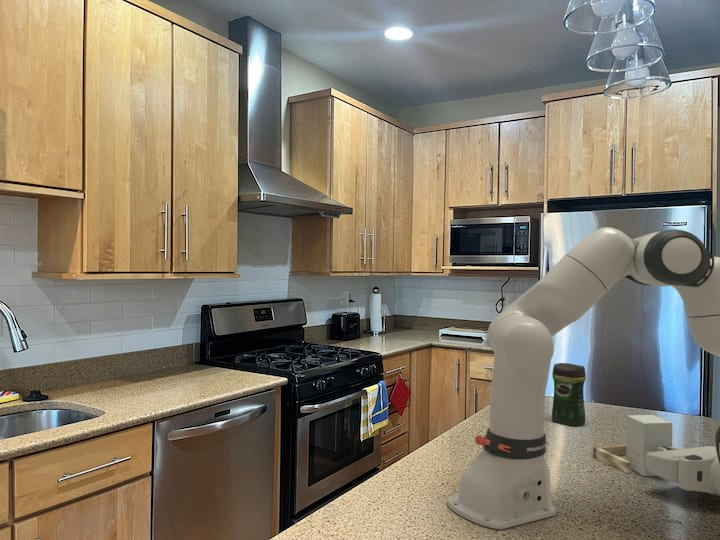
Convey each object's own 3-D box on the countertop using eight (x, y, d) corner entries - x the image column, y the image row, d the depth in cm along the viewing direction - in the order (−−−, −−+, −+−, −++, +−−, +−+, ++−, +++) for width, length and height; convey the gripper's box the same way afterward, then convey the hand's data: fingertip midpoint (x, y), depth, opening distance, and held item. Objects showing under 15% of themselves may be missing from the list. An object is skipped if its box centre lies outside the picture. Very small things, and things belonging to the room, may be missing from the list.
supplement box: (672, 476, 126) (674, 422, 126) (642, 476, 125) (644, 423, 125) (653, 464, 133) (654, 414, 133) (624, 465, 133) (625, 414, 133)
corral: (667, 468, 131) (667, 458, 131) (626, 473, 128) (626, 462, 128) (631, 452, 142) (631, 443, 142) (593, 456, 138) (593, 447, 138)
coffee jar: (588, 423, 168) (590, 364, 168) (577, 428, 163) (578, 367, 163) (559, 416, 175) (560, 360, 175) (547, 421, 170) (548, 363, 170)
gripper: (753, 452, 115) (696, 432, 129) (679, 460, 109) (627, 439, 123) (752, 481, 115) (695, 458, 129) (678, 491, 109) (626, 466, 123)
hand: (661, 449), depth 126 cm, fingers closed
